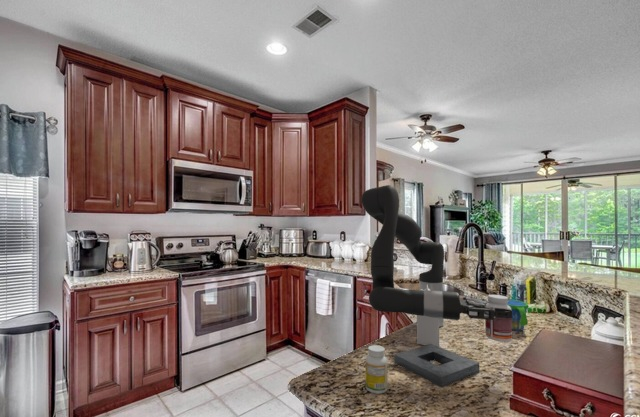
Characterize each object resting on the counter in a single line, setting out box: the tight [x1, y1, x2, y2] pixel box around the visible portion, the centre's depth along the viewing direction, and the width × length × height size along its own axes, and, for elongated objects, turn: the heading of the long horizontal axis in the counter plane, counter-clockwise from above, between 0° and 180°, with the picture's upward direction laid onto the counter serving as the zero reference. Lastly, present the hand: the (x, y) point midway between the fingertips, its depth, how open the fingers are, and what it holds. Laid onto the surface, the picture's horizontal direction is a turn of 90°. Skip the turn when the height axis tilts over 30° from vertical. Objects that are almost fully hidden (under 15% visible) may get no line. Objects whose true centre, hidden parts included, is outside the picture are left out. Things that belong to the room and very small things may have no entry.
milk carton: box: [416, 285, 440, 347], centre depth 107 cm, size 7×7×19 cm
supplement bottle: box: [364, 344, 389, 395], centre depth 76 cm, size 5×5×10 cm
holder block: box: [393, 344, 480, 388], centre depth 87 cm, size 16×16×2 cm
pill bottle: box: [484, 294, 513, 343], centre depth 83 cm, size 6×6×11 cm
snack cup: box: [507, 298, 529, 332], centre depth 122 cm, size 16×10×10 cm
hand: (508, 310), depth 83 cm, fingers closed on pill bottle, 6 cm apart
